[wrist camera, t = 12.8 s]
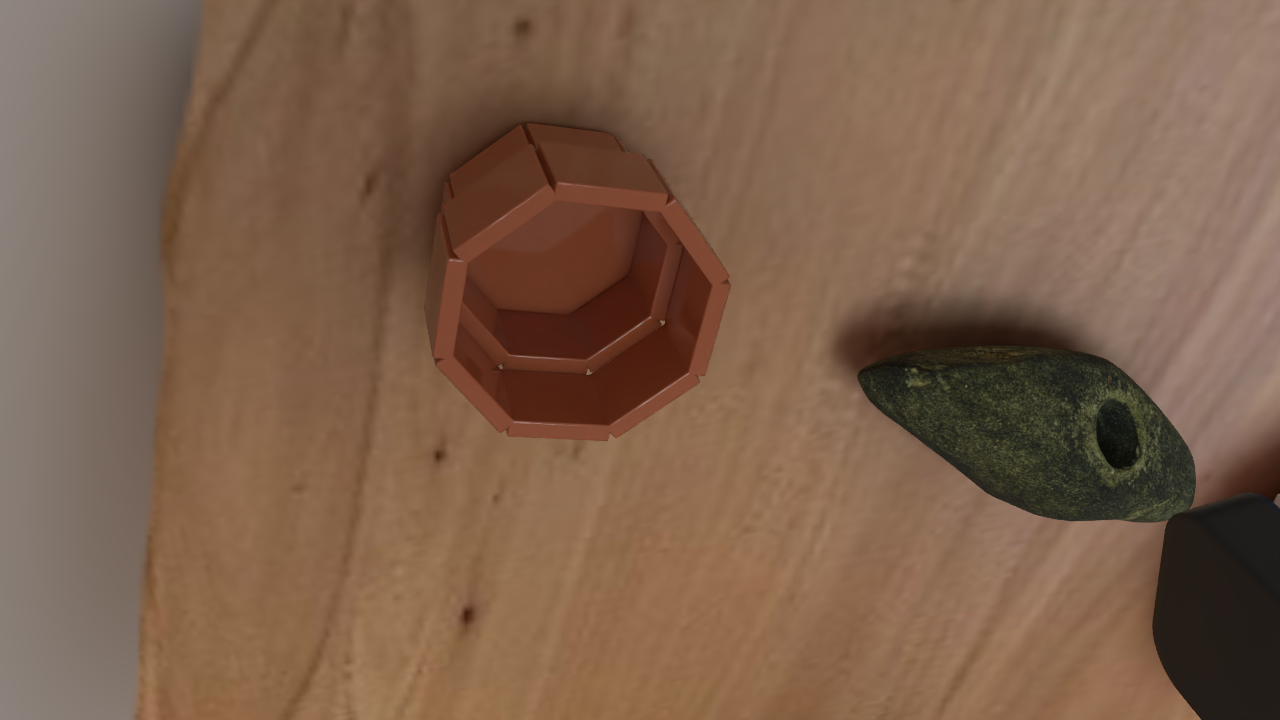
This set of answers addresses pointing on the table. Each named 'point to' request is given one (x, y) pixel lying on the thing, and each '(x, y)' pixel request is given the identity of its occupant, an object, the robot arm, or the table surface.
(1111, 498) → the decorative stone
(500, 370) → the terracotta bowl
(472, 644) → the table surface
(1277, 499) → the geodesic sphere
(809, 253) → the table surface
